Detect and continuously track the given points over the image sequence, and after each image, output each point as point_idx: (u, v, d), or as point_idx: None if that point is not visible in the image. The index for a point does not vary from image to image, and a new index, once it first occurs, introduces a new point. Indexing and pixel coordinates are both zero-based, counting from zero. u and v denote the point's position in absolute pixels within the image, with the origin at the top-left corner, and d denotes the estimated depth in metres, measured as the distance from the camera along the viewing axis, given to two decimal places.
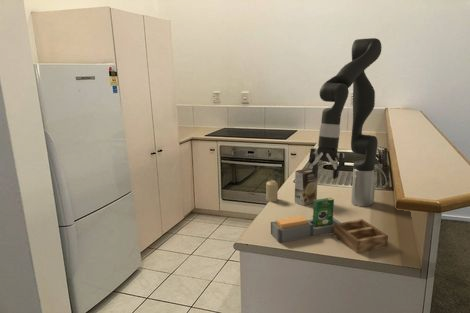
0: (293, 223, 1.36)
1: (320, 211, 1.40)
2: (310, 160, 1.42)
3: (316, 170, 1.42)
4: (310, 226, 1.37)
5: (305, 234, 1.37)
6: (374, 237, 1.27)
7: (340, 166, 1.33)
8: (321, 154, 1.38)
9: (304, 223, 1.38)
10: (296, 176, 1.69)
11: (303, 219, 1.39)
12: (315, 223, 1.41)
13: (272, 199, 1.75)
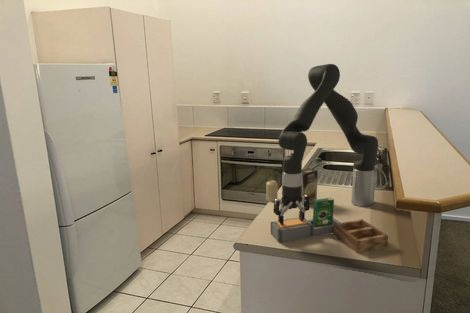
0: (293, 225, 1.37)
1: (320, 211, 1.40)
2: (277, 212, 1.34)
3: None
4: (310, 226, 1.37)
5: (305, 234, 1.37)
6: (374, 237, 1.27)
7: (308, 208, 1.38)
8: (290, 203, 1.34)
9: None
10: None
11: (303, 221, 1.39)
12: (315, 223, 1.41)
13: (272, 199, 1.75)
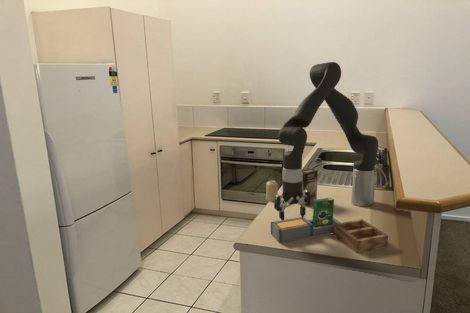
0: (293, 226, 1.37)
1: (320, 211, 1.40)
2: (278, 208, 1.34)
3: None
4: (310, 226, 1.37)
5: (305, 234, 1.37)
6: (374, 237, 1.27)
7: (309, 203, 1.38)
8: (291, 199, 1.34)
9: None
10: None
11: (303, 223, 1.39)
12: (315, 223, 1.41)
13: (272, 199, 1.75)
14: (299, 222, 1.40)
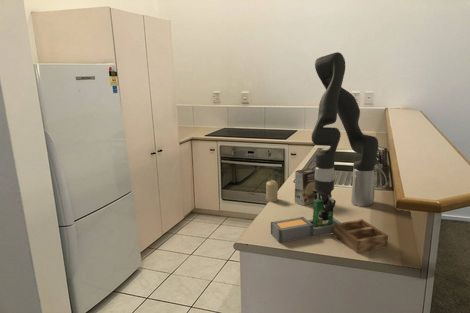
0: (293, 226, 1.37)
1: (320, 211, 1.40)
2: None
3: None
4: (310, 226, 1.37)
5: (305, 234, 1.37)
6: (374, 237, 1.27)
7: None
8: None
9: None
10: (296, 176, 1.69)
11: (303, 223, 1.39)
12: (315, 223, 1.41)
13: (272, 199, 1.75)
14: (299, 222, 1.40)
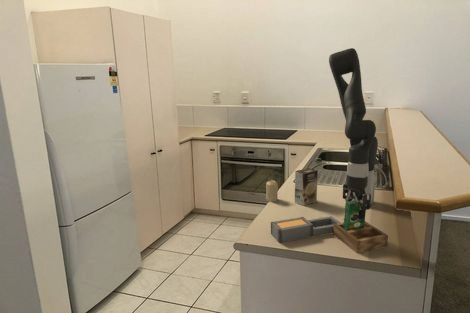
0: (293, 226, 1.37)
1: (352, 214, 1.33)
2: None
3: None
4: (310, 226, 1.37)
5: (305, 234, 1.37)
6: (374, 237, 1.27)
7: None
8: None
9: None
10: (296, 176, 1.69)
11: (303, 223, 1.39)
12: (347, 226, 1.34)
13: (272, 199, 1.75)
14: (299, 222, 1.40)
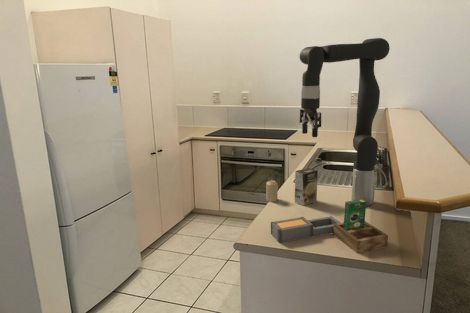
0: (293, 226, 1.37)
1: (352, 214, 1.33)
2: None
3: None
4: (310, 226, 1.37)
5: (305, 234, 1.37)
6: (374, 237, 1.27)
7: None
8: None
9: None
10: (296, 176, 1.69)
11: (303, 223, 1.39)
12: (347, 226, 1.34)
13: (272, 199, 1.75)
14: (299, 222, 1.40)
